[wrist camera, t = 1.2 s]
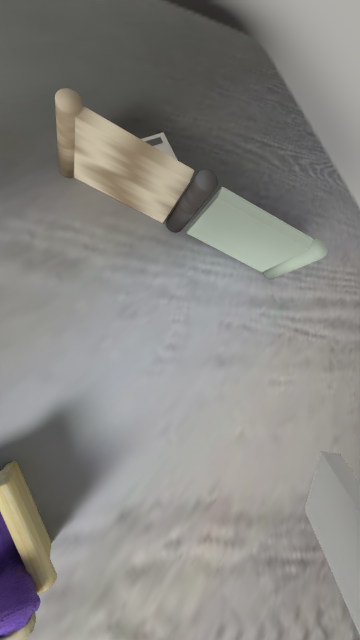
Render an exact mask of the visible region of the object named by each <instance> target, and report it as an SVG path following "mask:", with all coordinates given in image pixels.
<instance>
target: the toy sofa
mask: <svg viewBox="0 0 360 640" xmlns="http://www.w3.org/2000/svg"><path fill="white" fill-rule="evenodd" d="M50 549H51V540H50V538H49V535H48V533H47V531H46V528H45V526H44V523H43V521H42V519H41V516H40V514H39V512H38V509H37V507H36V504H35V502H34V500H33V497H32V495H31V493H30V490H29V488H28V486H27V483H26V481H25V479H24V477H23V475H22V472H21V470H20V468H19V465H18V463H17V462H16V461H12V462H10V463H8V464H6V465H5V467H4V468H3V470H1V471H0V640H25V639H26V638H27V637H28V636H29V635H30V634H31V633H32V631H33V629H34V626H35V622H36V616H35V611H37V610H38V608H39V605H40V598H39V596H38V595H37V593H43V592H45V591H47V590H48V589H49V588H50V587H51V586H52V585H53V583H54V582H55V580H56V578H57V574H56V571H55V569H54V567H53V565H52V562H51V560H50Z"/></svg>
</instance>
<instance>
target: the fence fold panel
mask: <svg viewBox="0 0 360 640" xmlns="http://www.w3.org/2000/svg"><path fill="white" fill-rule="evenodd" d="M187 234H189V235H191V236H193V237H195V238H197V239H199V240H200V241H202V242H204V243H206V244H208V245H210V246H212V247H214V248H216V249H218V250H220V251H222V252H224V253H225V254H227V255H229V256H231V257H233V258H235V259H237V260H239V261H241V262H243V263H245V264H247V265H249V266H250V267H252V268H254V269H256V270H258V271H260V272H263V274H264V276H265V277H266V278H267V279H274V278H277V277H279V276H281V275H284V274H286V273H288V272H291V271H293V270H295V269H298V268H300V267H303V266H305V265H307V264H310V263H312V262H314V261H317V260H319V259H321V258H324V257H325V256H326V255H327V251H328V250H327V245H326V243H325V242H324V241H323V240H321V239H314V240H312V239H313V238H311V237H309V236H307V235H306V234H304V233H302V232H301V231H299V230H297V229H295V228H294V227H292V226H290V225H288V224H287V223H285V222H283V221H281V220H280V219H278V218H276V217H275V216H273V215H271V214H269V213H268V212H266V211H264V210H262V209H261V208H259V207H257V206H255V205H254V204H252V203H250V202H249V201H247V200H245V199H243V198H242V197H240V196H238V195H236V194H235V193H233V192H231V191H229V190H228V189H226V188H224V187H223V186H222V187H221V188H220V189H219V191H218V192H217V193H216V194H215V195H214V196H213V198H212V199H211V200H210V201H209V202H208V203H207V205H206V206H205V207H204V208H203V209H202V211H201V212H200V213H199V214H198V215H197V216H196V218H195V219H194V220H193V221H192V222H191V223H190V225H189V228H188V230H187Z"/></svg>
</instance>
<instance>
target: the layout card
mask: <svg viewBox="0 0 360 640" xmlns="http://www.w3.org/2000/svg"><path fill="white" fill-rule="evenodd" d="M141 140H143V141H145V142H146V143H148V144H150V145H151V146H153V147H155V148H157V149H158V150H160V151H162V152H164V153H165V154H167V155H169V156H171V157H172V158H174V159H176V160H177V158H176V156H175V154H174V152H173V150H172V148H171V146H170V144H169V142H168V140H167V138H166V137H165V135H164V133H160V134H156V135H153V136H149V137H146V138H143V139H141ZM177 161H178V160H177Z"/></svg>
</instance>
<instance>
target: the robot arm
mask: <svg viewBox="0 0 360 640" xmlns="http://www.w3.org/2000/svg"><path fill="white" fill-rule="evenodd" d="M305 511H306V514H307V516H308V518H309V520H310V523H311V525H312V527H313V530H314V532H315V534H316V536H317V539H318V541H319V543H320V546H321V548H322V550H323V552H324V555H325V557H326V559H327V562H328V564H329V566H330V568H331V571H332V573H333V575H334V578H335V580H336V582H337V584H338V587H339V589H340V591H341V594H342V596H343V598H344V600H345V603H346V605H347V607H348V610H349V612H350V614H351V616H352V619H353V621H354V623H355V626H356V628H357V630H358V632H359V635H360V481H359V480H358V478H357V477H356V475H355V474H354V473H353V471H352V470H351V468H350V467H349V466H348V464H347V463H346V461H345V460H344V459H343V457H342V456H341V454H336V453H328V452H321V453H320V457H319V460H318V464H317V467H316V471H315V475H314V478H313V482H312V485H311V489H310V492H309V496H308V500H307V503H306V507H305Z"/></svg>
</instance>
